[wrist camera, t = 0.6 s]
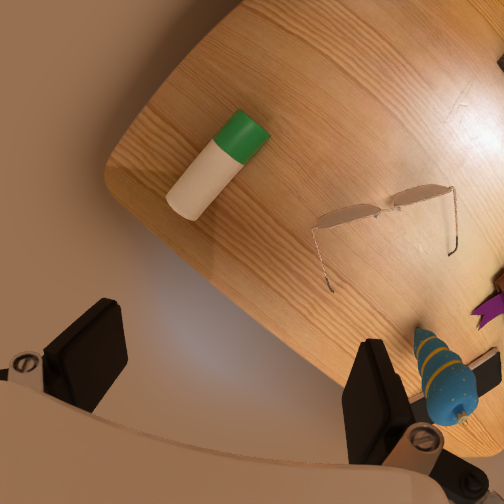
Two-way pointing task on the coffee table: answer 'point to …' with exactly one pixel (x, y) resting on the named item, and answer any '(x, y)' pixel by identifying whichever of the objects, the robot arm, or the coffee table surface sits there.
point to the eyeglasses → (366, 210)
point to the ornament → (444, 380)
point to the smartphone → (486, 379)
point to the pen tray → (501, 63)
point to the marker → (216, 165)
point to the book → (492, 304)
